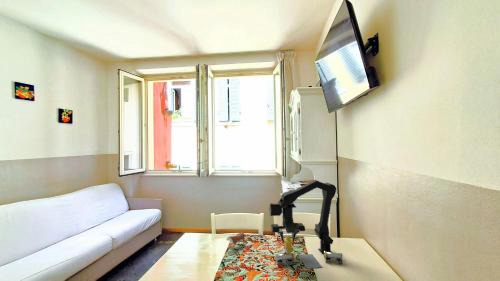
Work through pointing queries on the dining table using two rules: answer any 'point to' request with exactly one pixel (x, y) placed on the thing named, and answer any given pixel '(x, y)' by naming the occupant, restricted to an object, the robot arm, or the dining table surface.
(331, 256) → the shaft
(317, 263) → the seat mat
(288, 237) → the pressure relief valve
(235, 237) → the bull figurine
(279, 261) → the shaft
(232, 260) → the dining table surface
